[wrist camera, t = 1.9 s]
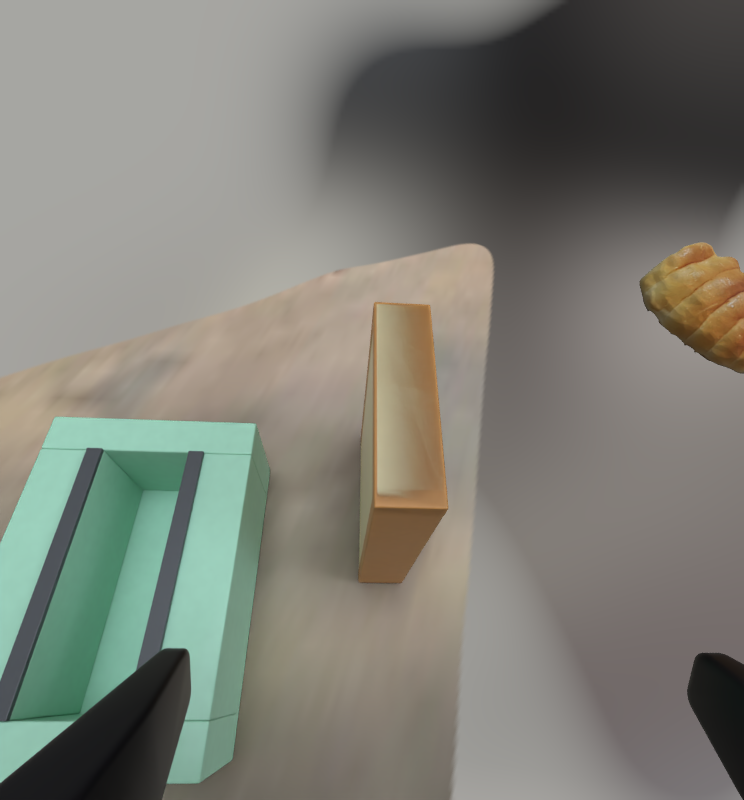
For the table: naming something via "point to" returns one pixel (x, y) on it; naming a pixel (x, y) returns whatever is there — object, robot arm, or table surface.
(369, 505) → the toast
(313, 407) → the table surface
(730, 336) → the pastry
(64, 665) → the toaster
